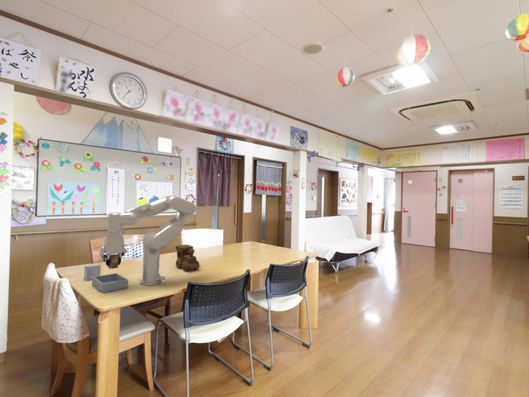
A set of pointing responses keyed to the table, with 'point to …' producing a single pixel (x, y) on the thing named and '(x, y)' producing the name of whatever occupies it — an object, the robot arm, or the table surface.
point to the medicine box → (91, 271)
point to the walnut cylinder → (113, 261)
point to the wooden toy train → (186, 257)
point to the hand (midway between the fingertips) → (113, 264)
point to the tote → (109, 282)
